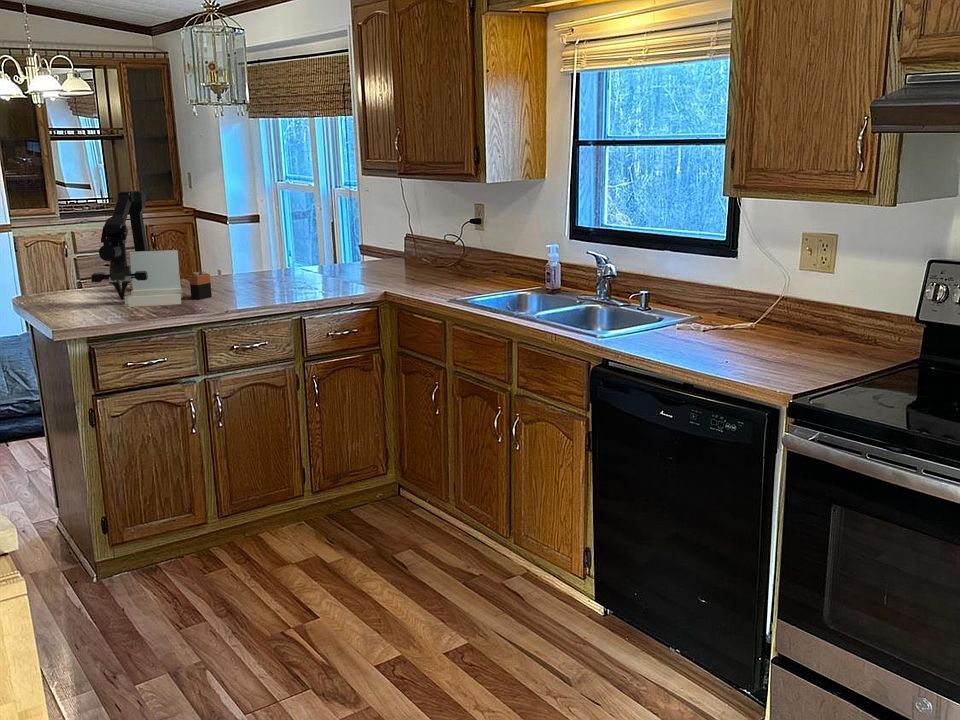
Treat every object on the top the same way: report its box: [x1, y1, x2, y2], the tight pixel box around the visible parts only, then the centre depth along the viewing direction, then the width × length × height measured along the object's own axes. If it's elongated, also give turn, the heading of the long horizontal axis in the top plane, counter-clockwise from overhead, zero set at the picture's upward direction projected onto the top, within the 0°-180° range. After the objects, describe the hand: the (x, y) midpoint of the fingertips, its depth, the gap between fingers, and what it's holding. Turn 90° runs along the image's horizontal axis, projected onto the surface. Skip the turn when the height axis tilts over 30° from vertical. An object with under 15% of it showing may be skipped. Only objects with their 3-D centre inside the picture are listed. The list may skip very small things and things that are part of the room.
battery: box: [188, 271, 212, 300], centre depth 327 cm, size 4×7×10 cm, turn 151°
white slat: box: [127, 287, 183, 308], centre depth 320 cm, size 14×18×4 cm
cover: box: [129, 249, 181, 291], centre depth 326 cm, size 14×17×1 cm
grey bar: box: [124, 294, 134, 305], centre depth 319 cm, size 3×12×3 cm, turn 107°
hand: (122, 299), depth 317 cm, fingers closed
